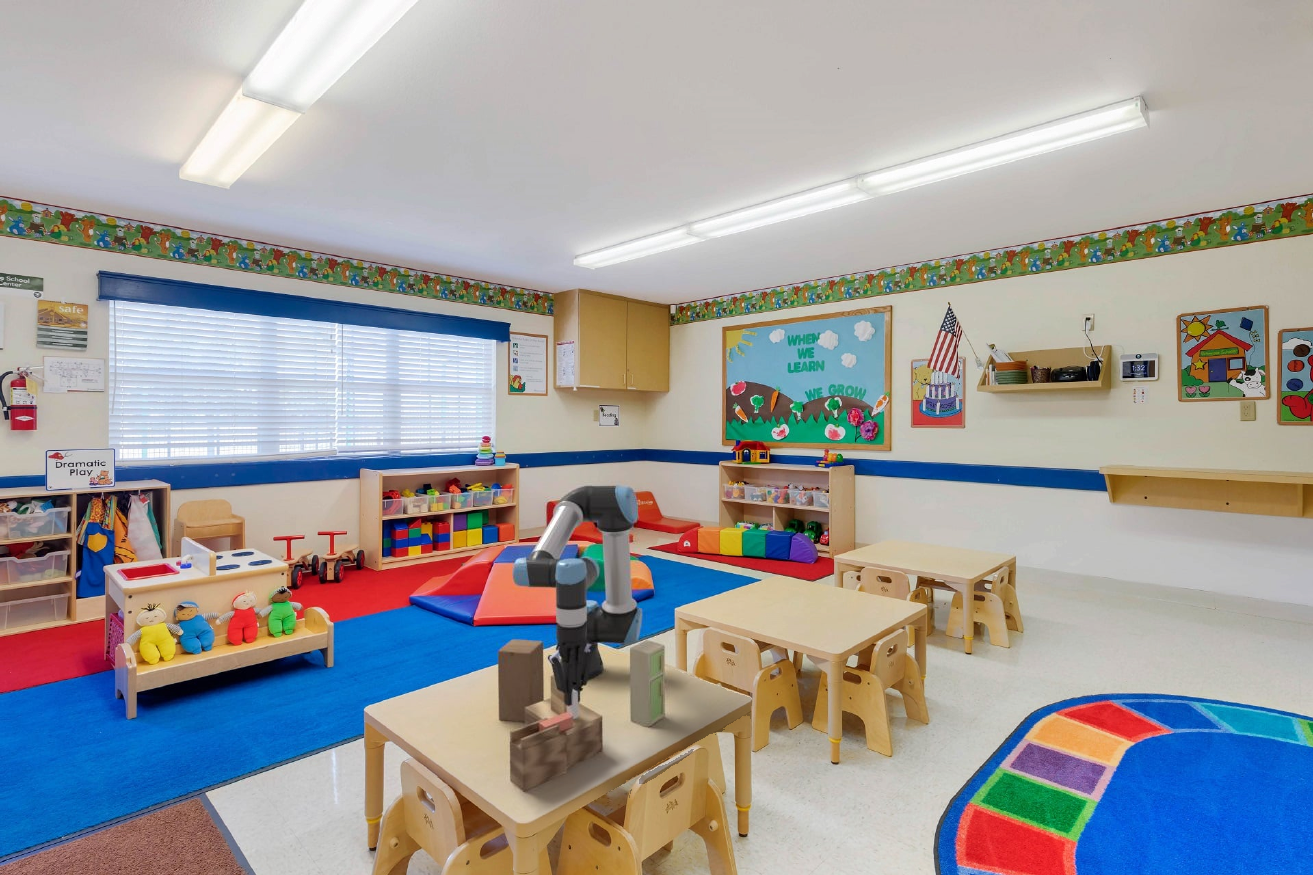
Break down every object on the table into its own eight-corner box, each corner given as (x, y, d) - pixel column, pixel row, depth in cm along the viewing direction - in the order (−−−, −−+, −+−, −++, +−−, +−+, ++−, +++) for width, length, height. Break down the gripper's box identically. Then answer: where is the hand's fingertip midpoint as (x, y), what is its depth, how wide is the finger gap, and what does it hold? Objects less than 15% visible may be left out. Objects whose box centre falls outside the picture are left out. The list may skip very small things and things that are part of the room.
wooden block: (531, 723, 177) (530, 652, 177) (498, 720, 179) (497, 650, 179) (544, 707, 187) (543, 640, 186) (513, 704, 189) (512, 638, 188)
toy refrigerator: (650, 728, 174) (649, 653, 173) (629, 720, 178) (629, 647, 178) (667, 717, 180) (667, 644, 179) (647, 710, 184) (646, 639, 184)
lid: (562, 698, 175) (562, 661, 175) (602, 720, 162) (602, 681, 161) (524, 711, 167) (524, 673, 167) (563, 736, 154) (562, 695, 153)
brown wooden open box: (563, 726, 175) (562, 684, 175) (606, 753, 161) (605, 707, 160) (483, 758, 159) (482, 711, 159) (523, 791, 145) (522, 740, 144)
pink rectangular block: (566, 721, 158) (566, 712, 158) (573, 726, 155) (573, 716, 155) (538, 732, 152) (538, 722, 152) (545, 737, 150) (545, 726, 150)
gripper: (583, 613, 164) (584, 703, 164) (540, 624, 155) (541, 719, 155) (601, 620, 158) (602, 713, 159) (558, 632, 149) (559, 730, 150)
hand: (572, 716), depth 157 cm, fingers closed
